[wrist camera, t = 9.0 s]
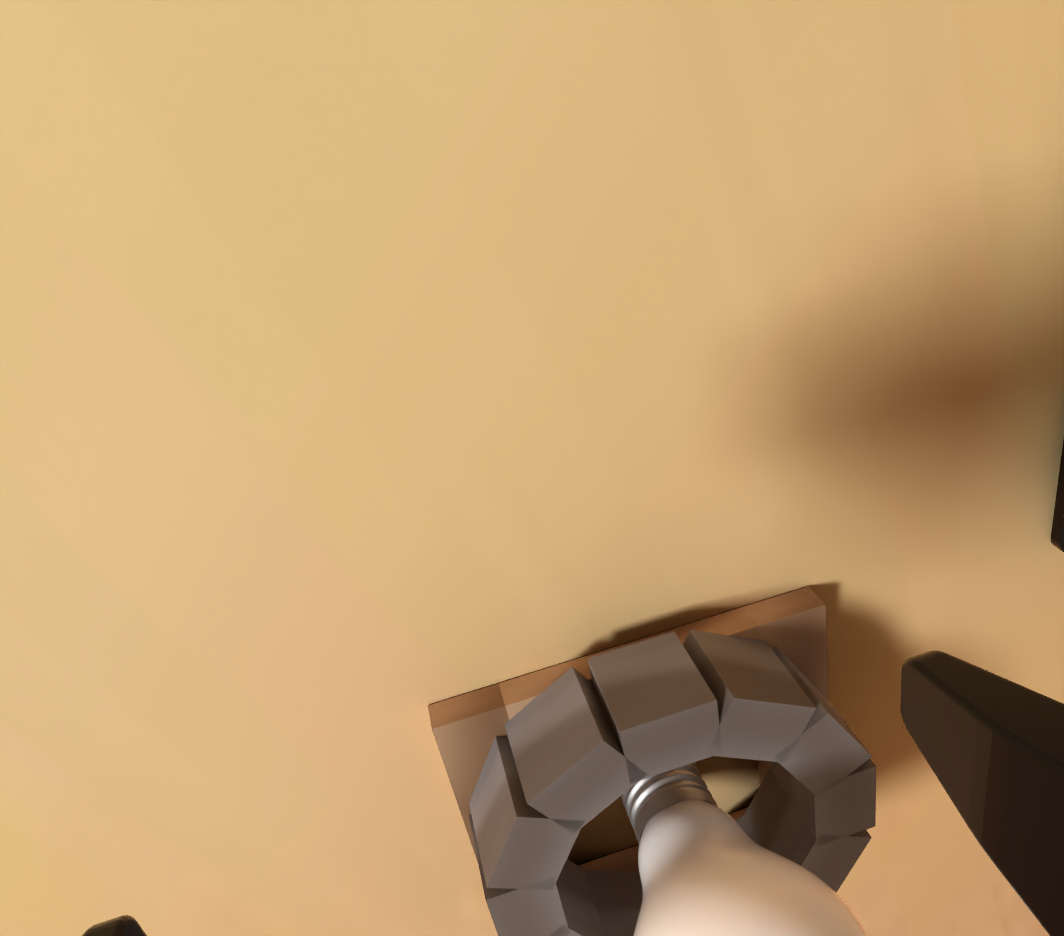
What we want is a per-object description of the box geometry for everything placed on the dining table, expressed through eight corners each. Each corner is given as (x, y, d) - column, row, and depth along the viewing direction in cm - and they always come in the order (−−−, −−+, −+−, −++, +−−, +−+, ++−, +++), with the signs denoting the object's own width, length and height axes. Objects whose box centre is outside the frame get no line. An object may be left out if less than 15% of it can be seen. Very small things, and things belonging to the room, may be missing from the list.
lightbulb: (671, 651, 26) (874, 998, 17) (767, 747, 30) (984, 1086, 20) (518, 771, 27) (628, 1167, 18) (627, 852, 30) (771, 1226, 21)
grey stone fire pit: (808, 565, 26) (884, 645, 23) (818, 820, 32) (879, 914, 29) (421, 686, 25) (439, 790, 21) (503, 928, 31) (528, 1042, 27)
